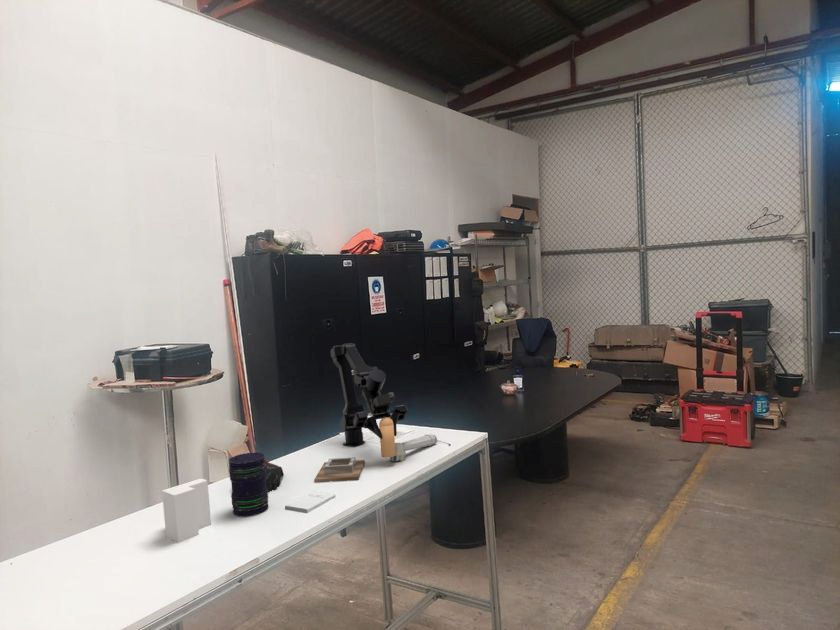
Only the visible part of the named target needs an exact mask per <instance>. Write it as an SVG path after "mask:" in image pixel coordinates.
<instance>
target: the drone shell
mask: <svg viewBox="0 0 840 630" xmlns="http://www.w3.org/2000/svg"><path fill="white" fill-rule="evenodd" d="M264 460H265V459H264ZM265 464H266V475H265V480H266V487H267V490H268V492H269V493H271V492H273V491H272V490H274V491H275V490H277V489H278V488H279V487H281V484H282V481H283V478H284V476H285V473H284V471H283V468H282V466H279V465H278V464H275V463H271V462H269V461H267V460H265ZM277 487H278V488H277ZM270 491H271V492H270Z"/></svg>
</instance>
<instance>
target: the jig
mask: <svg viewBox="0 0 840 630" xmlns="http://www.w3.org/2000/svg"><path fill="white" fill-rule="evenodd" d="M365 464H366V460H365V459H358V460H356V457H339V458H337V457H336V458H328V460H327V461H324V463H323V464H322V466H321V467H320V469H319V470H318V472H317V473H316V476H315V478H314V482H316V483H330V482H329V481H333V482H344V481H346V482H347V480H350V481H359V480H360V478H361V475H362V472H363V469H364V466H365Z"/></svg>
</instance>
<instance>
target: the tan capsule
mask: <svg viewBox="0 0 840 630" xmlns="http://www.w3.org/2000/svg"><path fill="white" fill-rule="evenodd" d="M378 427H379V429H380V431H381V434H382V439H380V438H379V441H380V442H379V443H380V455H381V458H386V459H387V458H390V457H393V456H395V455H396V454H395V443H396V441H395V436H394V424H393V421H392V419H390V418H388V417H385V418H382V419H379V423H378Z"/></svg>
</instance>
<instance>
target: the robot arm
mask: <svg viewBox="0 0 840 630" xmlns="http://www.w3.org/2000/svg"><path fill="white" fill-rule="evenodd" d="M330 357H331V358H332V361H333V364H334V365H335V367H336V368H337V369H338V371H339V378H340V382H341V387H342V389H341V390H342V392H343V393H342V395H343V398H344V404H345V405H344V408H343V410H342V417H341V420H340V422H339V424H340V429H341V430H342V431H344V437H345V438H344V439H345V442H344V443H342V445H343V446H348V447H358V446H360V445H362V444H365V443H366V441H365V440H364V434H363V428H364V429H368V430H369V431H371V432H372V433H373V434H374V435H376V436H377V437H378V438H379V440H380V439H382V434H381V431H380V428H379V424H378V422H377V420H381V419H382V418H385V417H388V418H390V419H392V421H393V424H394V437H397V423H398V421H403V420H405V418H406V416H407V414H408V411H409V409H408V406H406V405H405V404H402V405H395V406H394V407H393V410H389V409H390V405H392V403H394V402H395V401H396V396H395V394H394V392H393V391H391V392H388V393H387V394H381V390H382V388H383V387H384V386H383V385H384V384H385V381H386V378H387V375H386V372H385V371H383V370H381V369H380V368H378V367H377V366H370V365H368V364H366V363H365V362H364V360H363V357H362V356H361V355H360V353H359V351H358V349H357V345H356V343H343V344H341V345H333V346H332V348H331V349H330ZM352 372H353V373H354V375H353V373H352ZM355 385H356V386H357V387H359V388H360V387H363V388H362V390H361V391H362V393H361V394H362V395H361V397H363V398H364V400H365V403H366V405H367V406H366V409H367V411H366V410H364V406H363V404H362V403H361V404H360V403H359V401H358V398H357V393H356V388H355ZM368 410H369V413H368ZM388 410H389V411H388Z"/></svg>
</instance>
